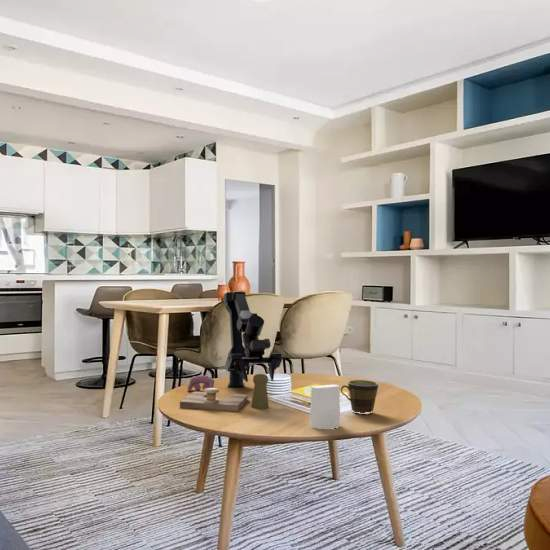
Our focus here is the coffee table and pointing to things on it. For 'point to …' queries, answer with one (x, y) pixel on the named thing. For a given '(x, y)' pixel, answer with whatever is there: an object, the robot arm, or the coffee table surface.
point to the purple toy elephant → (200, 379)
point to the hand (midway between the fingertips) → (259, 380)
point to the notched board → (213, 401)
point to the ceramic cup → (362, 395)
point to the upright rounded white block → (325, 406)
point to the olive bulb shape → (260, 392)
